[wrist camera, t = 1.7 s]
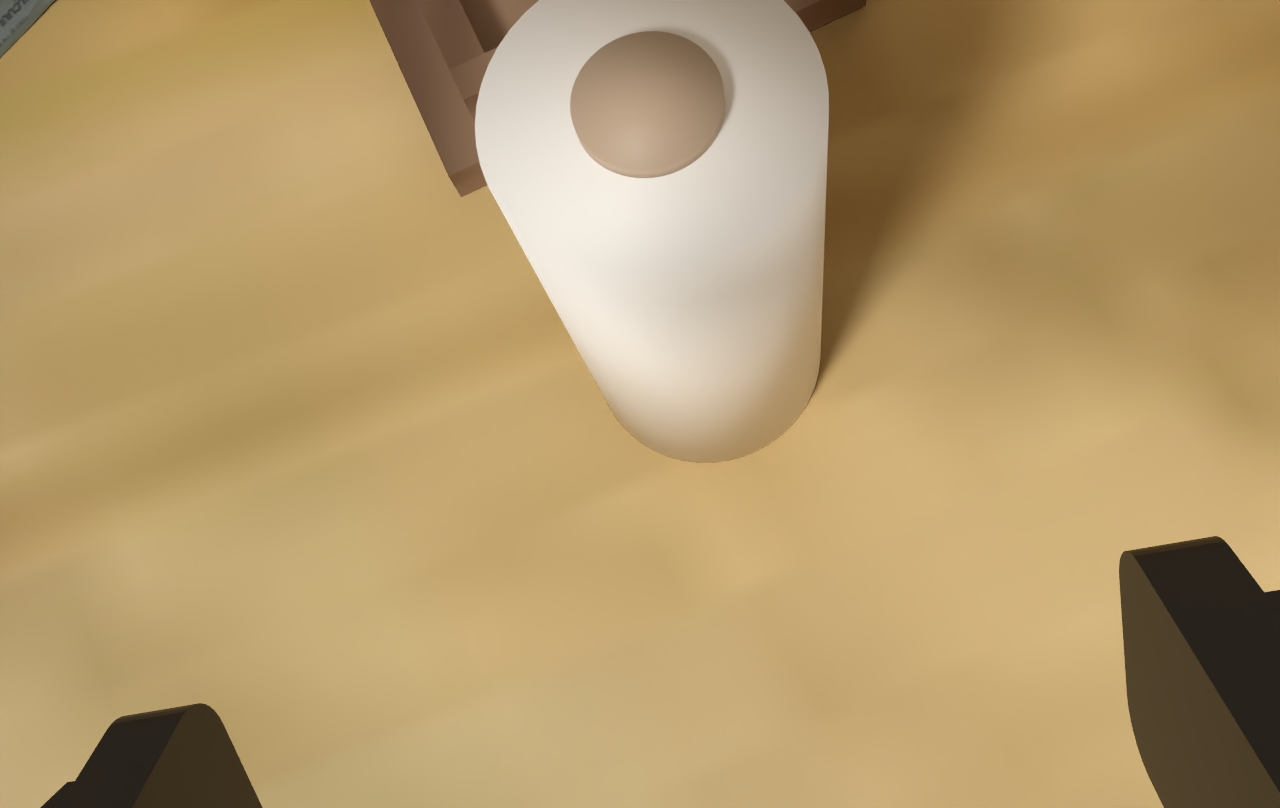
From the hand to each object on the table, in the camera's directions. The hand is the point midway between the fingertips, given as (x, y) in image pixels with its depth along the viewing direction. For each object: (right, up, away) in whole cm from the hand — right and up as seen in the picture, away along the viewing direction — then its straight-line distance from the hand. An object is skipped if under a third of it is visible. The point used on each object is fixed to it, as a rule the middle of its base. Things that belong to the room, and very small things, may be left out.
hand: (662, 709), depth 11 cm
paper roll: (+1, +4, +20) cm, 20 cm away
